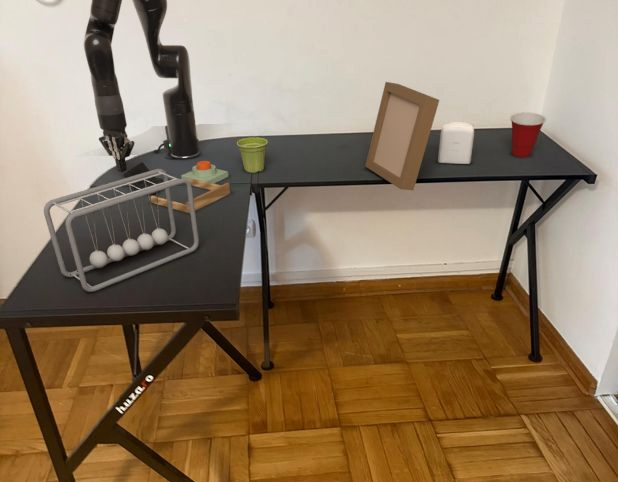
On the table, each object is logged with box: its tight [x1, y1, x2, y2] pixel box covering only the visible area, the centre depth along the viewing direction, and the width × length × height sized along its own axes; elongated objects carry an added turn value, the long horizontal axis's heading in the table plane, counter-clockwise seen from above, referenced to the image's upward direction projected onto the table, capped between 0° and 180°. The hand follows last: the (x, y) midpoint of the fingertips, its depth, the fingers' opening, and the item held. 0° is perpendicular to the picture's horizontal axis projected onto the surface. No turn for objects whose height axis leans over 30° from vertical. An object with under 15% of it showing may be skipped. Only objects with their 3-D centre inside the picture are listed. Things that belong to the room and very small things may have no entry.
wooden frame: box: [150, 179, 231, 214], centre depth 169 cm, size 14×17×3 cm
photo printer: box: [437, 121, 475, 165], centre depth 187 cm, size 10×4×12 cm, turn 78°
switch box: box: [180, 163, 229, 184], centre depth 181 cm, size 10×10×4 cm
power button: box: [196, 160, 211, 170], centre depth 180 cm, size 4×4×2 cm
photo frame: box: [364, 81, 440, 191], centre depth 174 cm, size 15×22×25 cm
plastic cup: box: [509, 111, 547, 158], centre depth 192 cm, size 11×11×12 cm
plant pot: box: [236, 137, 269, 174], centre depth 186 cm, size 9×9×9 cm
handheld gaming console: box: [123, 162, 172, 196], centre depth 176 cm, size 12×7×10 cm
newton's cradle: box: [43, 168, 200, 293], centre depth 132 cm, size 30×10×18 cm, turn 135°
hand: (122, 170), depth 180 cm, fingers closed
